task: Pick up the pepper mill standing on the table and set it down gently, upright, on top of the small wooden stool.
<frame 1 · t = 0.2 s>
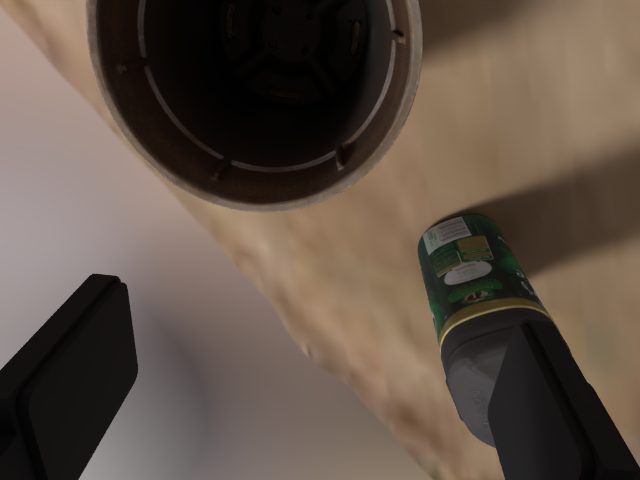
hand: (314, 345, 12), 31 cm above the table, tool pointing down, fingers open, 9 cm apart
coffee jar: (463, 256, 45), on the table
plant pot: (293, 33, 38), on the table
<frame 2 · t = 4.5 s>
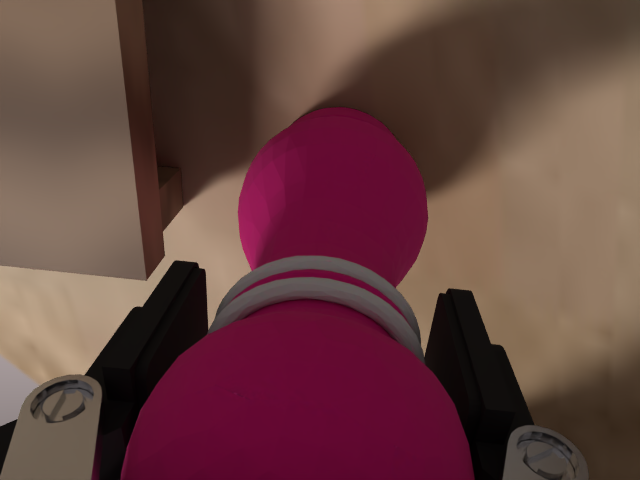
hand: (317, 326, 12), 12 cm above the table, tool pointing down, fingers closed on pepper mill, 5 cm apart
wooden stool: (28, 57, 21), on the table
pepper mill: (337, 172, 23), on the table, touching gripper
when the fingers open (19 cm above the table, at t = 10.8 s): pepper mill drops 1 cm, resting on wooden stool.
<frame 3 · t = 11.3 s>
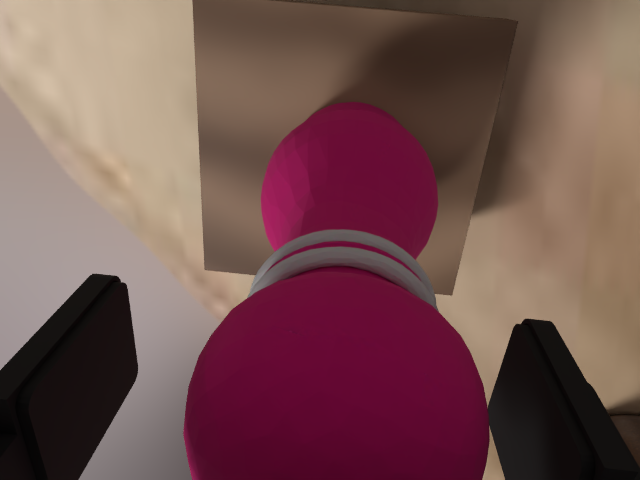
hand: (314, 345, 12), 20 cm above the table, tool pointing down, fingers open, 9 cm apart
wooden stool: (342, 132, 29), on the table
plant pot: (609, 462, 41), on the table
pepper mill: (350, 163, 24), point 6 cm above the table, touching wooden stool
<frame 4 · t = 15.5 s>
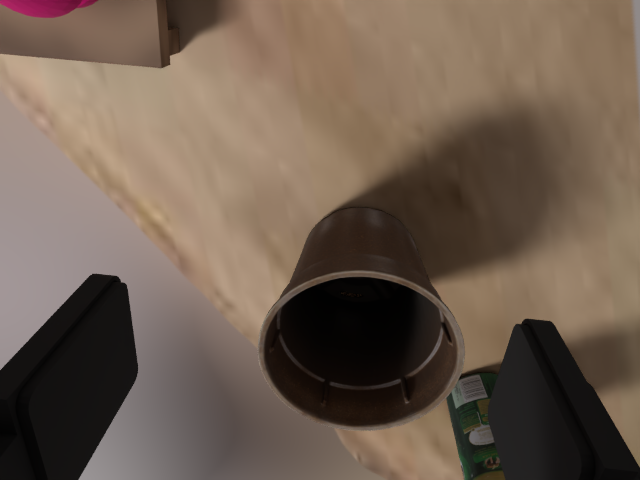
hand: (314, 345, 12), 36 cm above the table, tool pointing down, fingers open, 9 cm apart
coffee jar: (480, 396, 60), on the table
plant pot: (359, 258, 52), on the table
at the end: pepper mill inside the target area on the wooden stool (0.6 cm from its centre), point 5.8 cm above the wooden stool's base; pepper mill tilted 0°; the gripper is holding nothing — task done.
